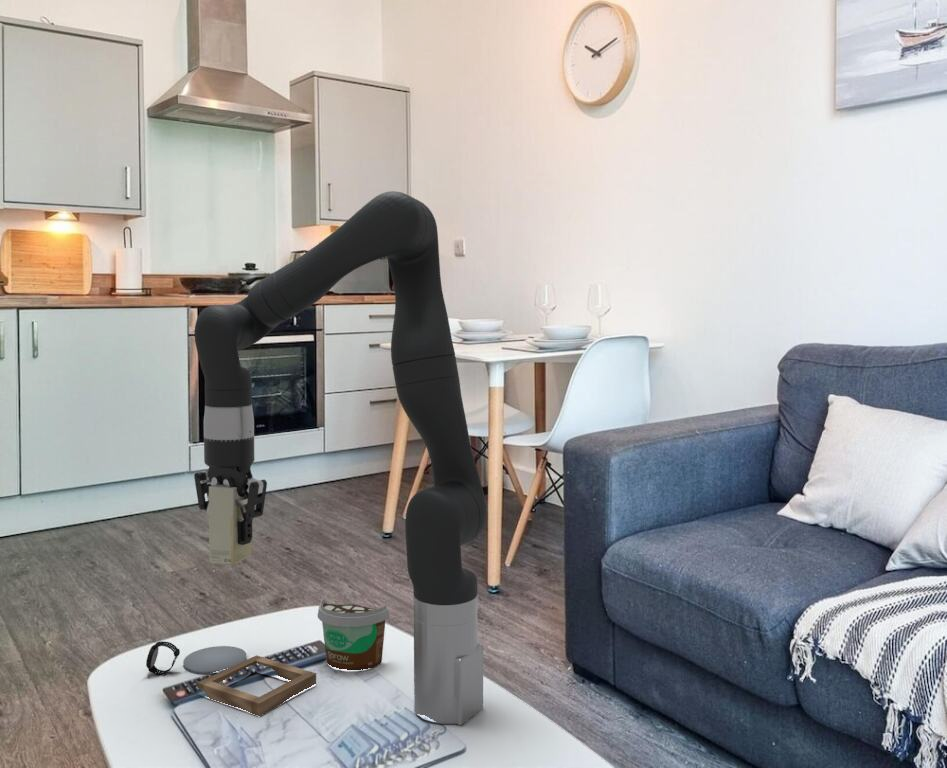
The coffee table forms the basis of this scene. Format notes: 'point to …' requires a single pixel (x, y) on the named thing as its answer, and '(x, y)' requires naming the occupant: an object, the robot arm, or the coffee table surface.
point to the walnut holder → (251, 702)
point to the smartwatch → (153, 656)
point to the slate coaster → (213, 659)
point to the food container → (353, 635)
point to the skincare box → (225, 527)
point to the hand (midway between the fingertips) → (230, 540)
